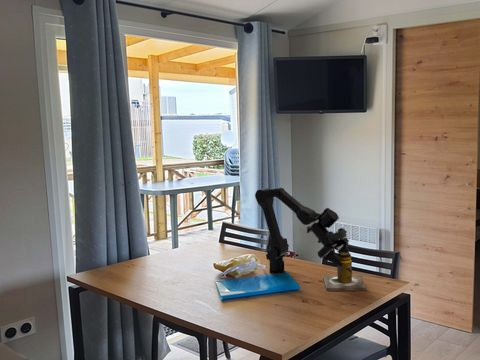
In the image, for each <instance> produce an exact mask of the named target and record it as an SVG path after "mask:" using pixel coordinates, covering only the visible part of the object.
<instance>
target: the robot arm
mask: <svg viewBox="0 0 480 360" xmlns="http://www.w3.org/2000/svg"><path fill="white" fill-rule="evenodd" d="M254 197H255V200H256V202H257V205H258V206H259V207H260V208H261V209H262V212H263V216H264V219H265V222H266V225H267V230H268V232H269V233H268V234H269V236H270V241H269V249H270V250H269V251H268V252H267V253H266V255H265V256H266V260H267V261H268V262H269V269H268V270H269V273H270V274H273V273H274V274H282V273H283V274H284V271H285V260H284V258H285V257H286V255H287V253H288V251H289V247H290V245H289V243H288V238H286V237H283V236H282V233H281V231H280V227H279V224H278V221H277V217H276V214H275V210H274V206H273V205H274V199H275V198H277V199H278V200H279V201H280V202H282V203H283V204H284V205H285V206H286V207H288V209H290V210H291V211H292V212H293V213H294V214H295V215H296V218H297V219H298V220H299V222H300V223H301V224H303V225H304V226H307V228H306V233H307V234H310V233H313V235H314V236H315V237H316V239H317V242H318V244H322V247H321V248H320V249H319V250H318V251H317V256H318V258H320V259H322V260H326V261H328V262H330V263H332V264H333V265H336V266H337V265H338V266H340V267H341V266H342V264H341V262H340V260H339V259H338V255H337V254H336V252H337V253H338V254H339V253H341V252H347V253H350V251H349V249H348V246H349V242H350V241H349V239H348V238H347V232H348V231H347V230H346V229H345V228H344V227H340V228H339V229H337V231H336V232H333V231H332V230H331V231H329V230H328V229H329V228H331V227H332V226H333V225H334V224H335V223H336V222H338V220H339V218H340V217H339V215H338V213H337V212H335V211H334V210H332V209H330V208H329V207H326V208H325V209H324V210H323V211H322V213H318V212H316V211H315V210H314V209H312V208H310V207H308V206H305V205H303V204H301V202H299V201H298V200H297V199H296V198H294V197H293V196H292V195H291V194H290V193H288V192H287V191H286V190H285V188H283V187H277V188H272V189H271V188H268V187H266V188H265V187H264V188H261V189H257V190H256V191H255V194H254ZM310 224H311V225H310ZM309 225H310V226H309ZM351 260H352V261H353V259H352V257H351Z"/></svg>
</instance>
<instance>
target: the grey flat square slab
mask: <svg viewBox="0 0 480 360" xmlns="http://www.w3.org/2000/svg"><path fill="white" fill-rule="evenodd" d="M335 278H337V275H322V280H323V283H324V287H325V290H326V292H327V291H331V292H332V291H335V292H336V291H341V292H342V291H367V286H366V284H365V282H364V281H363V278H362V277H361V275H359V274H358V275H356V274H355V275H353V274H352V281H354V282H355V283H350V284H338V285H336V284H335V283H334V282H332V281H331V280H330V279H335Z"/></svg>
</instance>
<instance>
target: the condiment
mask: <svg viewBox="0 0 480 360" xmlns="http://www.w3.org/2000/svg"><path fill="white" fill-rule="evenodd" d="M337 257H338V259H339V260H340V262H341V264H342V266H341V267H340V266H338V265H336V266H337V267H336V269H337V270H336V271H337V272H336V274H337V278H335V279H330V280H331V281H332V282H334V283H335V284H336V285H338V284H350V283H355V282H354V281H352V275H353V263H352V262H353V259H352V260H351V258H352V255H351V253H350V252H349V253H347V252H341V253H338V254H337Z"/></svg>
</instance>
